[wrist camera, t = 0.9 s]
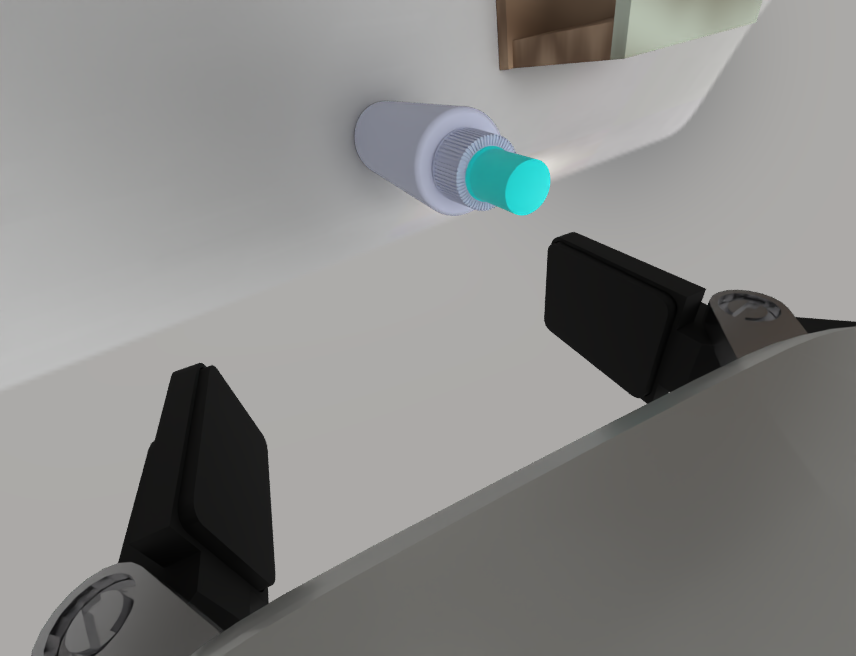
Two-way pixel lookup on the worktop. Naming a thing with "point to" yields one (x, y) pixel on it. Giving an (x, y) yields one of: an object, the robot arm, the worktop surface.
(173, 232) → the worktop surface
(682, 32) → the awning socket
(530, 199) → the spray bottle
